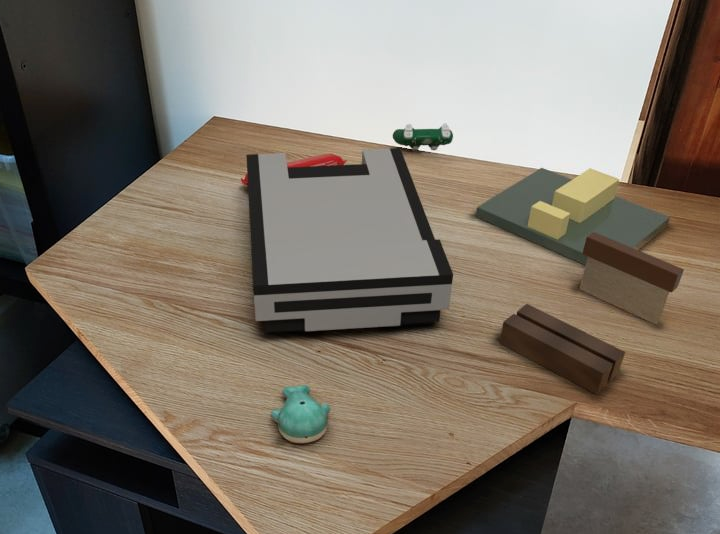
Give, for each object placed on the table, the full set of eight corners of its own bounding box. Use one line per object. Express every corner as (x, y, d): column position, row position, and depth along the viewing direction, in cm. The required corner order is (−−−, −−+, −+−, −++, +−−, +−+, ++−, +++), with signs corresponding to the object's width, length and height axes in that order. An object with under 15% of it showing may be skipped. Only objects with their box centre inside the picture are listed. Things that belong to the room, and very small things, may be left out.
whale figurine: (274, 451, 73) (273, 423, 71) (267, 398, 79) (266, 370, 76) (335, 445, 74) (336, 416, 72) (325, 393, 79) (324, 365, 77)
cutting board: (667, 226, 104) (670, 216, 103) (607, 275, 96) (610, 265, 95) (539, 176, 114) (541, 167, 113) (475, 216, 106) (476, 206, 105)
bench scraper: (664, 323, 89) (684, 269, 84) (658, 329, 88) (678, 274, 83) (579, 284, 94) (593, 231, 89) (572, 289, 93) (586, 236, 88)
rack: (618, 373, 82) (625, 351, 80) (596, 395, 80) (603, 373, 78) (522, 324, 88) (526, 303, 86) (498, 343, 86) (503, 321, 84)
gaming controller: (392, 156, 123) (397, 143, 117) (391, 132, 123) (396, 118, 117) (450, 155, 123) (458, 142, 117) (449, 131, 123) (457, 117, 117)
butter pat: (565, 233, 100) (570, 213, 98) (557, 239, 99) (562, 219, 97) (535, 221, 102) (540, 200, 100) (527, 226, 101) (531, 206, 99)
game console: (397, 194, 110) (400, 139, 104) (445, 335, 86) (453, 274, 81) (249, 201, 108) (245, 145, 103) (257, 347, 85) (253, 285, 79)
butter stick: (614, 199, 107) (619, 178, 105) (580, 223, 102) (585, 202, 100) (585, 187, 109) (590, 168, 107) (550, 211, 104) (554, 190, 102)
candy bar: (349, 155, 112) (349, 175, 114) (338, 145, 115) (337, 164, 117) (247, 179, 107) (248, 199, 109) (236, 168, 109) (238, 187, 111)
